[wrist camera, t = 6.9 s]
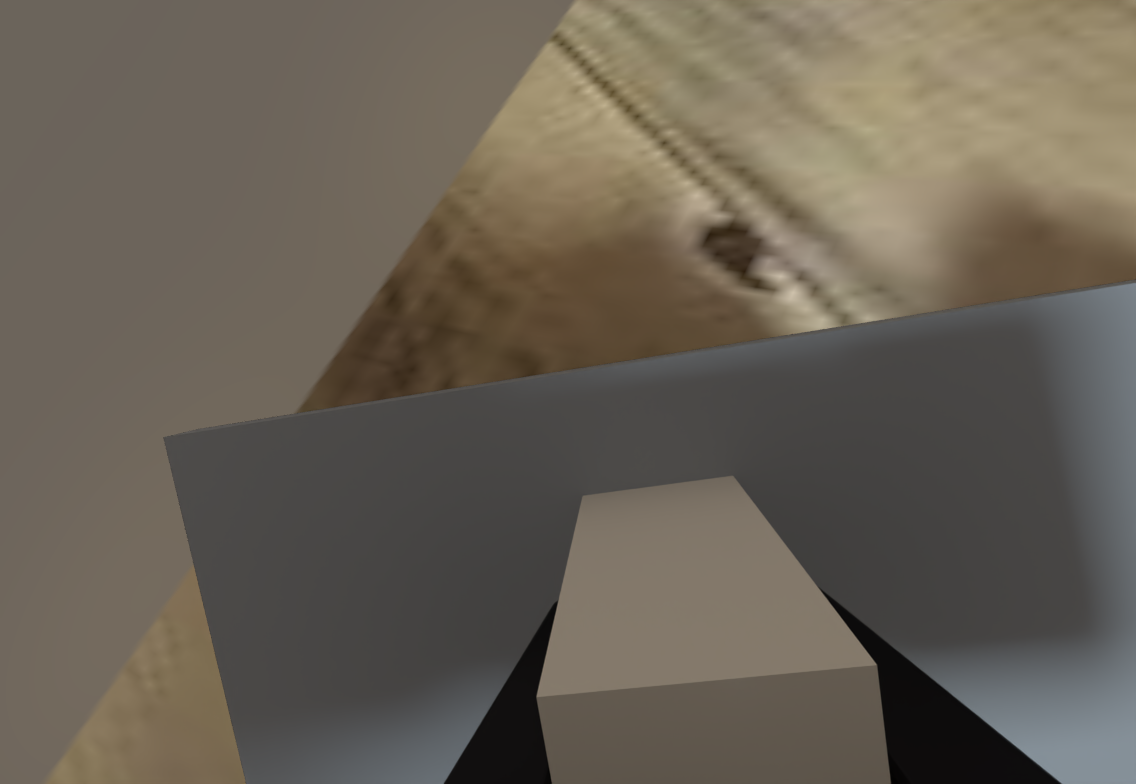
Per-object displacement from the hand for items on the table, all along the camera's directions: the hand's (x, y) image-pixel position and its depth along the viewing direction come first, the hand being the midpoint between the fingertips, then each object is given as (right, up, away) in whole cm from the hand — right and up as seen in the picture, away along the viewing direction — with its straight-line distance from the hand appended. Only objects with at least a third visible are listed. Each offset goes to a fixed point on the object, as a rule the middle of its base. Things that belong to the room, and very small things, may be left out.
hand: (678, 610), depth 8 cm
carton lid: (0, -1, +2) cm, 3 cm away
